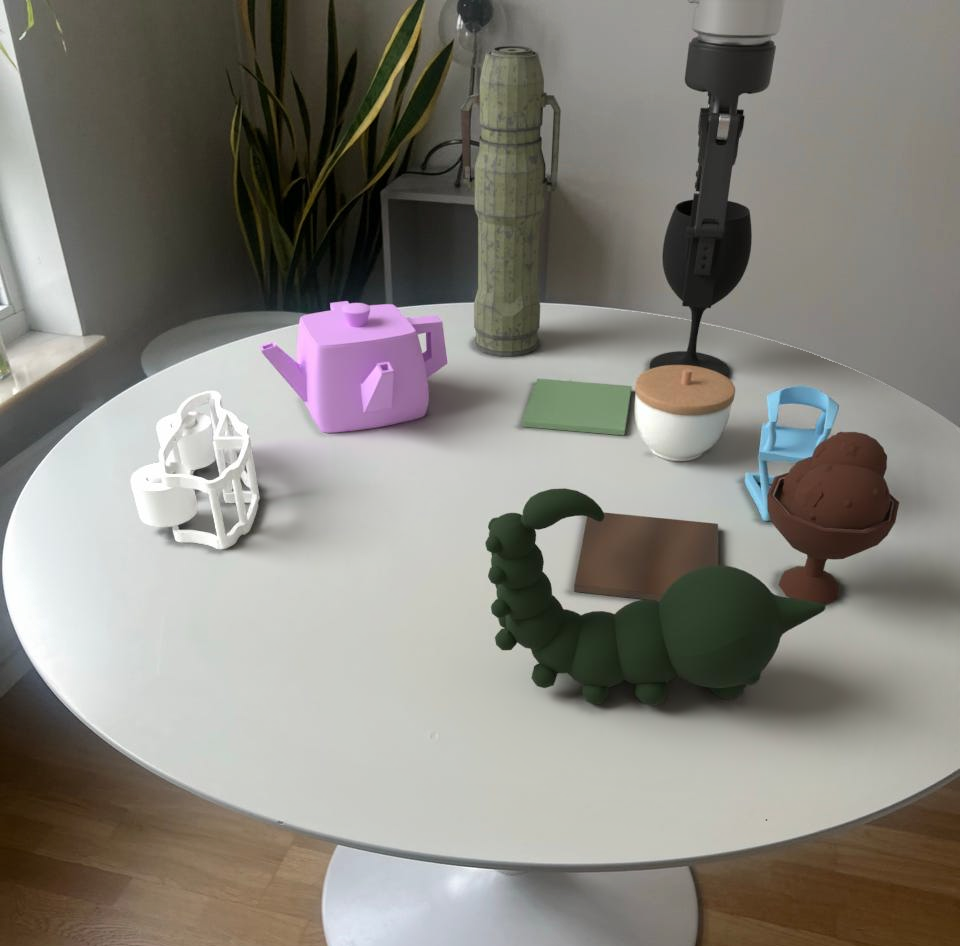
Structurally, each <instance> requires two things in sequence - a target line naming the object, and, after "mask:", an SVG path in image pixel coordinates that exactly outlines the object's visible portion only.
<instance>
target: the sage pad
mask: <svg viewBox="0 0 960 946" xmlns="http://www.w3.org/2000/svg"><path fill="white" fill-rule="evenodd" d="M632 388H633V386H632V385H625V384H624V385H622V384H612V383H610V384H609V383H599V382H588V381H587V382H586V381H576V380H575V381H574V380H560V379H548V378H536V381H535V383H534V387H533V389H532V393H531V396H530V398H529V401H528V404H527V407H526V411H525V414H524V417H523V420H522V427H525V428H534V429H535V428H536V429H547V430H555V431H556V430H558V431H568V432H580V433H581V432H582V433H591V434H592V433H593V434H604V435H614V436H615V435H616V436H625V435H626V430H627V429H626V428H627V422H628V417H629V416H628V415H629V409H630V403H631V397H632V390H633V389H632Z"/></svg>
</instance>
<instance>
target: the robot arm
mask: <svg viewBox="0 0 960 946" xmlns="http://www.w3.org/2000/svg"><path fill="white" fill-rule="evenodd" d="M785 1H786V0H687V2H688V3H689V4H696V5H695V7H694V9H693V12H692V13H693V14H692V20H691V21H692V22H691V29H692V31H693V32H695V33H696V34H697V36H695V37H692V39H691V41H689V42H688V48H687V57H686V65H685V73H684V83H685V85H686V86H687V87H688V88H689V89H691V90H693V91H697V92H700V93H707V97H708V100H707V106H706V107H700V109H699V116H698V132H697V134H698V141H697V146H698V153H697V163H698V165H697V166H698V167H697V170H696V171H695V177H696V180H695V182H694V189H695V193H693V198H692V200H693V204H692V212H691V219H690V226H689V227H687V230H686V237H688V241H687V248H686V255H685V260H688V267H687V274H686V281H685V289H684V296H683V301H682V303H681V304H682V305H681V306H682V307H688V308H689V307H701V308H707V309H711V308H712V306H711V304H712V298H713V291H714V285H715V279H716V273H717V266H718V260H719V254H720V248H721V241H722V237H723V236H724V233H725V226H724V224H725V217H726V210H727V202H728V201H729V193H730V187H731V179H732V172H733V166H734V165H735V164H736V161H737V157H738V151H739V143H740V138H741V137H742V134H743V131H744V126H745V119H746V118H745V115H744V113H745V109H739V108H738V105H739V98H740V96H741V95H743V94H747V95H753V94H759V93H762V92H763V91H765V90H767V89H768V88H769V86H770V83H771V77H772V73H773V67H774V62H775V61H774V60H775V55H776V49H777V46H776V45H775V41H774V40H772V37H773V36H776V35H777V34H778V33H779V32H780V31H781V25H782V18H783V12H784V7H785ZM696 192H698V193H696Z"/></svg>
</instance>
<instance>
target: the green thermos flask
mask: <svg viewBox="0 0 960 946" xmlns="http://www.w3.org/2000/svg"><path fill="white" fill-rule="evenodd" d="M474 104H477V106H479V126H480V136H479V143H478V144H479V147H478V150H477V154H476V157H475V160H474V176H473V177H472V176H471V175H472V173H471V172H472V168H471V167H472V162H471V159H472V158H471V157H472V156H471V151H472V150H471V148H472V147H471V143H472V142H471V108H472V106H473V105H474ZM549 105H550V106H551V108H552V111H553V117H552V118H553V119H552V142H551V160H550V161H551V162H550V181H548V177H546V171H547V170H546V162H545V161H546V160H545V157H544V153H543V149H542V145H543V144H542V143H543V142H542V140H543V139H542V136H541V128H542V126H543V121H544V120H543V118H544V117H543V115H544V108H546V106H549ZM561 113H562V109H561V107H560V105H559V102H558V101H557V99H556V97H555V95H552V94H548V93H547V92H545V77H544V73H543V69H542V64H541V60H540V56H539V52H537V51H534V50H533V48H532V47H528V46H521V45H501V46H494V47H492V49H491V50H489V51H487V52H486V53H485V56H484V60H483V64H482V67H481V73H480V77H479V91H478V92H477V93H474V94H471V95H469V96H468V98H467V99H466V101H465V102H464V103H463V105H462V106H461V107H460V124H461V125H460V126H461V152H462V153H461V154H462V183H463V184H464V185H465V187H467V188H468V189H469V191H470V190H472V194H474V212H475V213H476V216H477V219H478V221H477V222H478V223H477V230H478V231H477V281H478V282H477V290H476V294H475V298H474V301H473V328H474V330H475V336H474V339H475V340H474V346H475V347H476V349H477V350H478V351H480V352H482V353H483V354H487V355H491V356H495V357H519V356H524V355H527V354H530V353H531V352H533V351H535V350H536V349H537V348H538V346H539V345H538V342H539V341H538V331H539V328H540V322H541V321H540V320H541V302H540V298H539V295H538V272H539V249H540V248H539V247H540V225H541V223H540V221H541V216H542V215H543V212H544V209H545V196H546V195H547V194H548V192H555V191H556V188H557V183H558V171H559V155H560V153H559V152H560V134H561V133H560V132H561V115H562V114H561Z"/></svg>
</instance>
